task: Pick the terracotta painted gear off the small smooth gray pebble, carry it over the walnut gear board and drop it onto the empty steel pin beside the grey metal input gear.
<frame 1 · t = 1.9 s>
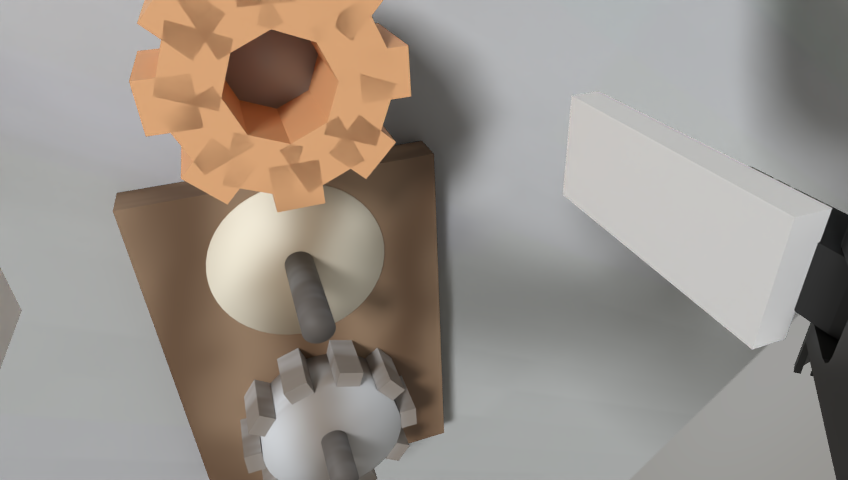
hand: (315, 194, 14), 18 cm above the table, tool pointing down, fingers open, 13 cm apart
smooth gray pebble: (253, 28, 28), on the table
gear board: (308, 325, 38), on the table
loose gear: (268, 60, 23), point 6 cm above the table, touching smooth gray pebble
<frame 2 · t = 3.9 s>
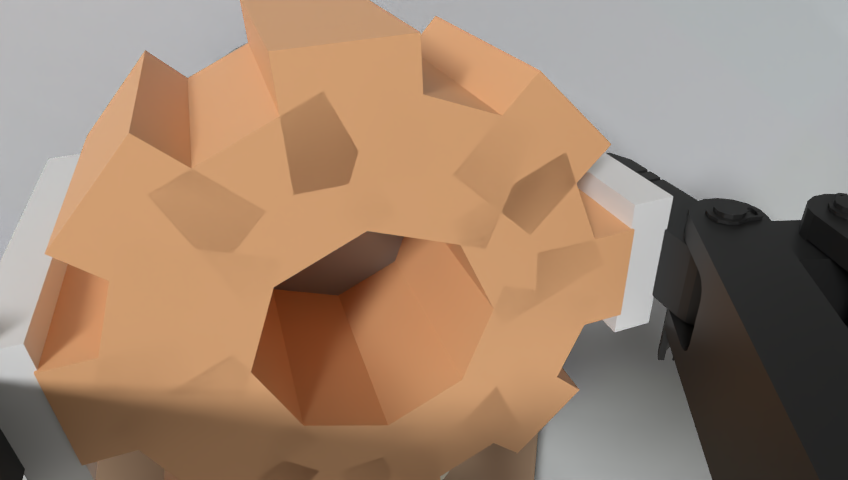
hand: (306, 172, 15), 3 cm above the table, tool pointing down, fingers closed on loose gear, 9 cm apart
smooth gray pebble: (285, 125, 17), on the table
loose gear: (327, 220, 13), point 6 cm above the table, touching smooth gray pebble, gripper
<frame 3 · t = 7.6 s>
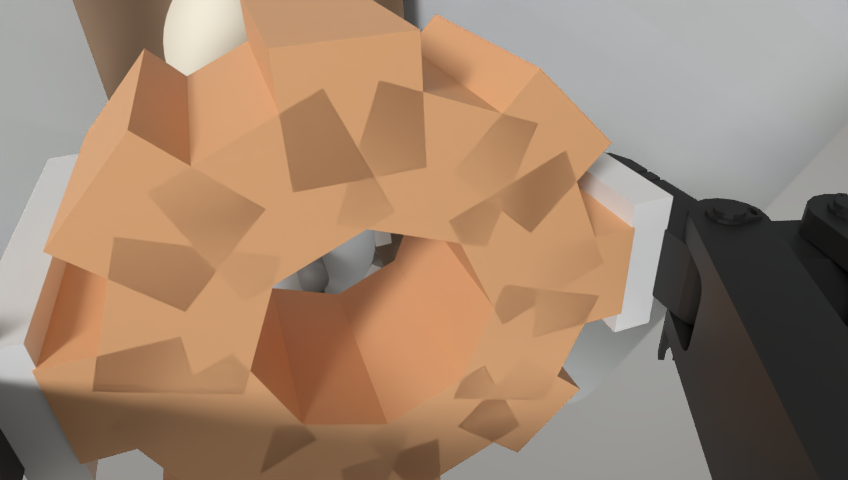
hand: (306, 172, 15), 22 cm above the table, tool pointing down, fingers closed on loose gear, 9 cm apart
gear board: (278, 143, 37), on the table
loose gear: (327, 219, 13), point 24 cm above the table, touching gripper
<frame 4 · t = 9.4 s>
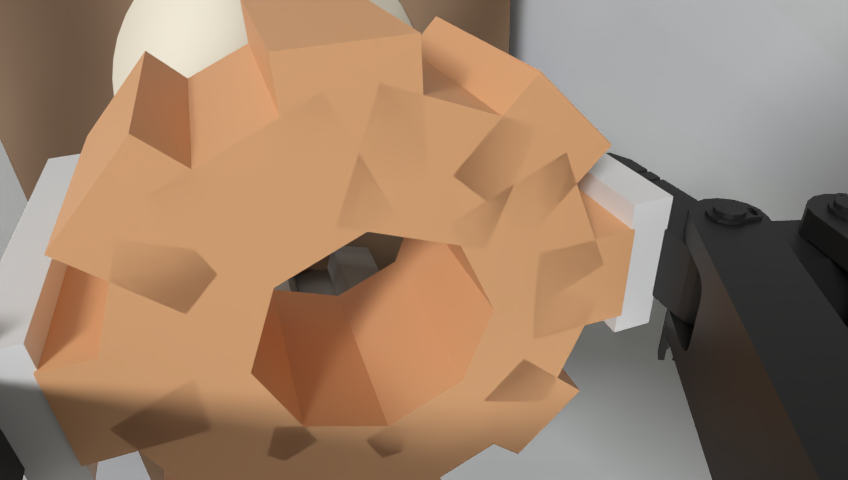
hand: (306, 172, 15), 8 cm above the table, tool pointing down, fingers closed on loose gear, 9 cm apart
gear board: (299, 228, 24), on the table
loose gear: (327, 221, 13), point 10 cm above the table, touching gripper
when the fingers open (4 cm above the table, at t = 11.1 s): loose gear drops 5 cm, resting on gear board.
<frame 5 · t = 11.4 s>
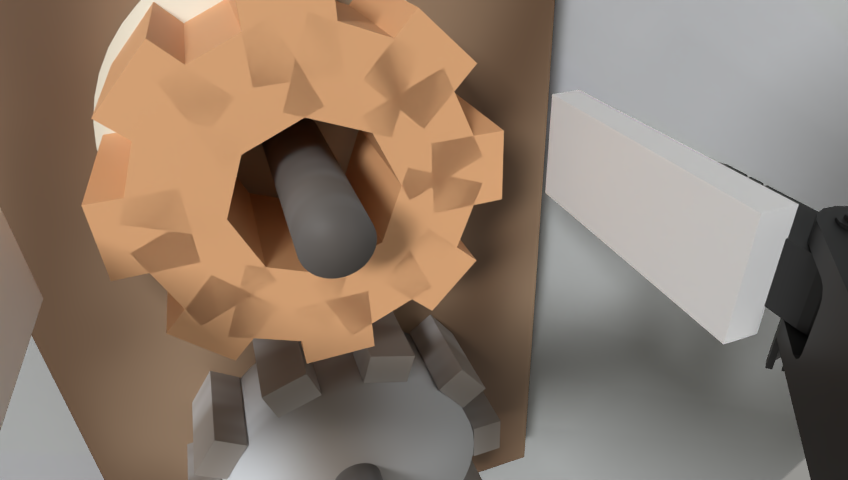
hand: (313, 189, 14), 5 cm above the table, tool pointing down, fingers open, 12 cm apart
gear board: (309, 276, 21), on the table
loose gear: (290, 138, 17), point 2 cm above the table, touching gear board
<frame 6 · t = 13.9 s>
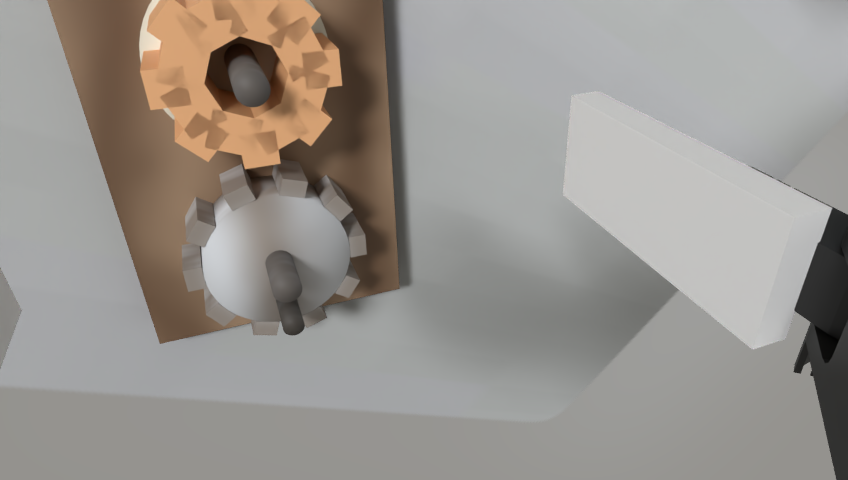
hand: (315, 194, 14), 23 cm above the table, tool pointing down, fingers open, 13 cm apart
gear board: (255, 151, 36), on the table
loose gear: (239, 59, 32), point 2 cm above the table, touching gear board
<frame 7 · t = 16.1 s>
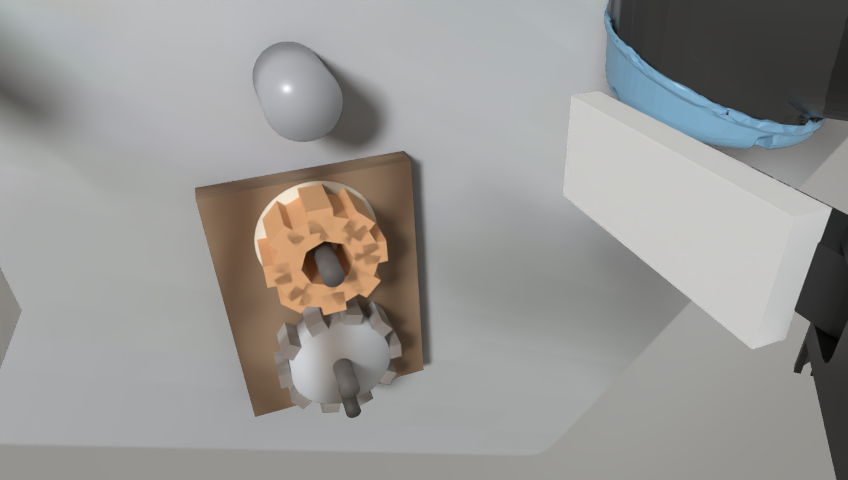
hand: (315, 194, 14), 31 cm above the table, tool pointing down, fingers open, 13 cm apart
smooth gray pebble: (289, 78, 42), on the table
gear board: (322, 285, 52), on the table
loose gear: (317, 237, 47), point 2 cm above the table, touching gear board
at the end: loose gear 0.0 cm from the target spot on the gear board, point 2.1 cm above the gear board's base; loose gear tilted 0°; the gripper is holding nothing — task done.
